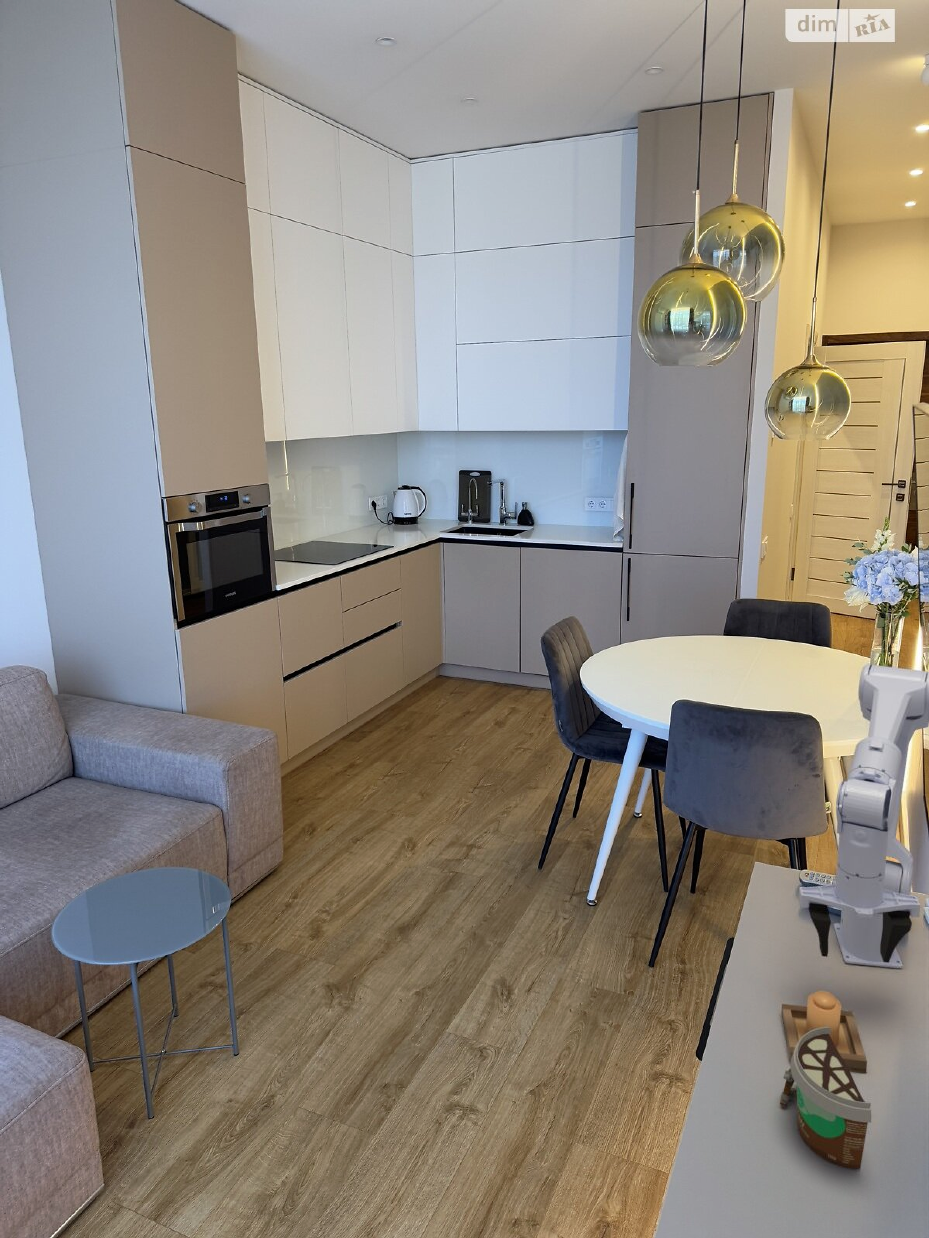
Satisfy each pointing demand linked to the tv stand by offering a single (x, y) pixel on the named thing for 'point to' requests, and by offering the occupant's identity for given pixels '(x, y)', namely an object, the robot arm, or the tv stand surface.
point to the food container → (828, 1101)
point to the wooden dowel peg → (824, 1013)
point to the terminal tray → (848, 1035)
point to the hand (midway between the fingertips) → (853, 954)
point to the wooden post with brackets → (788, 1089)
